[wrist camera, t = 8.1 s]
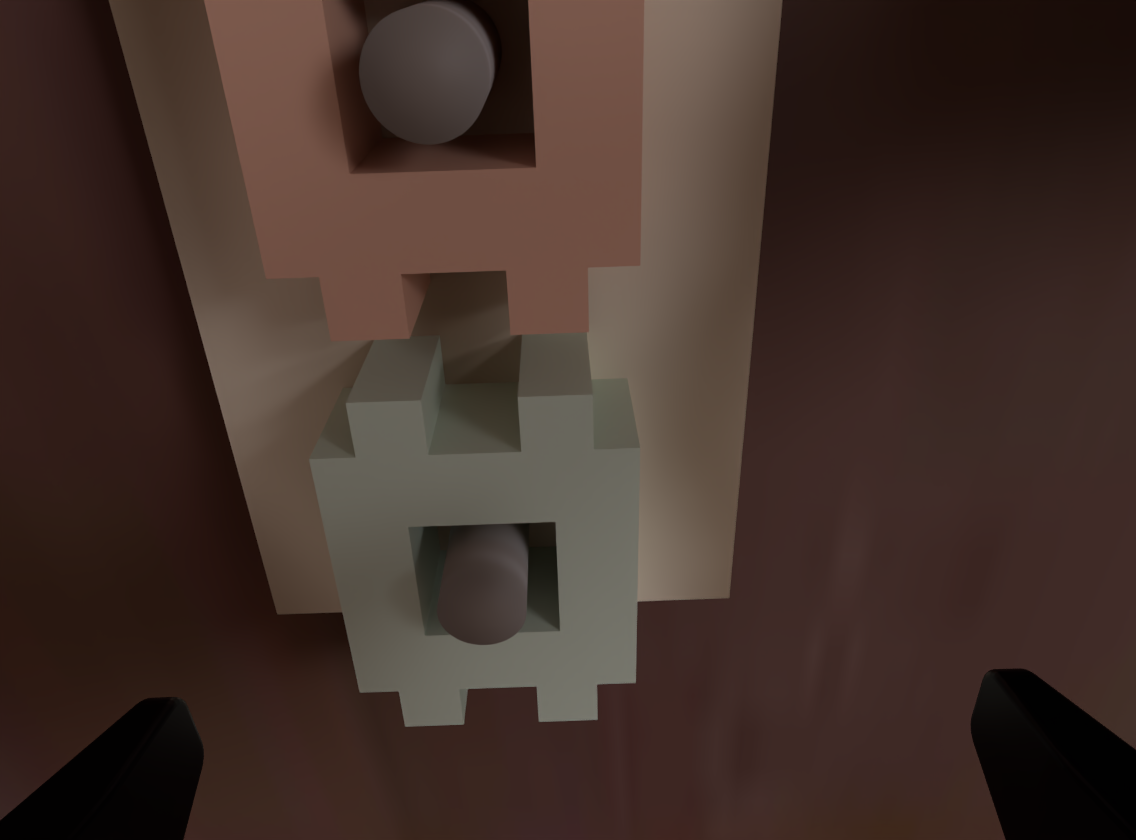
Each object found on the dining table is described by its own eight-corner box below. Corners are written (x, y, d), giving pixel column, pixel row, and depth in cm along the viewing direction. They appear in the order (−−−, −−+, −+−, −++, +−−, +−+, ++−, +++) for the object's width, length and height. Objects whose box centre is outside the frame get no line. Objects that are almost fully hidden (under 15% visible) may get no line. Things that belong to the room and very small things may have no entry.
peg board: (777, -184, 15) (890, -254, 10) (718, 561, 23) (763, 720, 18) (104, -161, 15) (-113, -220, 10) (292, 577, 23) (225, 740, 18)
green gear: (627, 328, 18) (641, 393, 15) (624, 628, 22) (635, 718, 20) (334, 339, 18) (297, 404, 15) (389, 636, 22) (367, 727, 19)
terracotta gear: (628, -263, 13) (648, -320, 10) (625, 273, 17) (639, 330, 15) (221, -250, 13) (135, -303, 10) (321, 284, 17) (280, 343, 15)
